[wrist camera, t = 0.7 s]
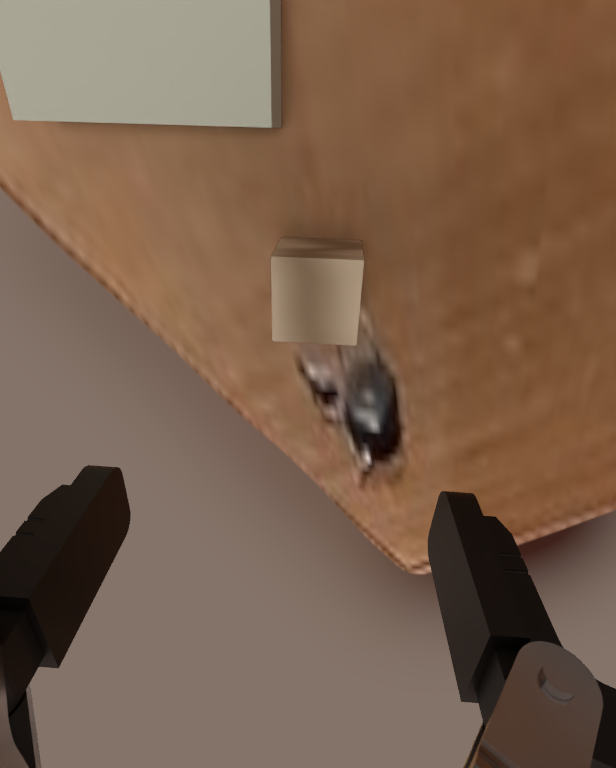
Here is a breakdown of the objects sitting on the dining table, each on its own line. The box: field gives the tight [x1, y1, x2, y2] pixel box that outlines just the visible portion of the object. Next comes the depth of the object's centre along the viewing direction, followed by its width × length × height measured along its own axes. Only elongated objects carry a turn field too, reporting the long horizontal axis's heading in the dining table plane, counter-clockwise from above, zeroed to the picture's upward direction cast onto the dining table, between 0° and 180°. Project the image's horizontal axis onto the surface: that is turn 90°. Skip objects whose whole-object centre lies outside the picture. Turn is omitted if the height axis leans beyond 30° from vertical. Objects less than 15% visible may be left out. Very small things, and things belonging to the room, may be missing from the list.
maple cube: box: [271, 237, 364, 346], centre depth 27 cm, size 5×5×5 cm
